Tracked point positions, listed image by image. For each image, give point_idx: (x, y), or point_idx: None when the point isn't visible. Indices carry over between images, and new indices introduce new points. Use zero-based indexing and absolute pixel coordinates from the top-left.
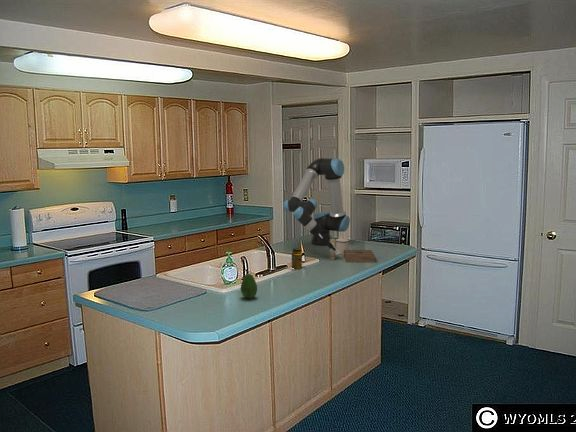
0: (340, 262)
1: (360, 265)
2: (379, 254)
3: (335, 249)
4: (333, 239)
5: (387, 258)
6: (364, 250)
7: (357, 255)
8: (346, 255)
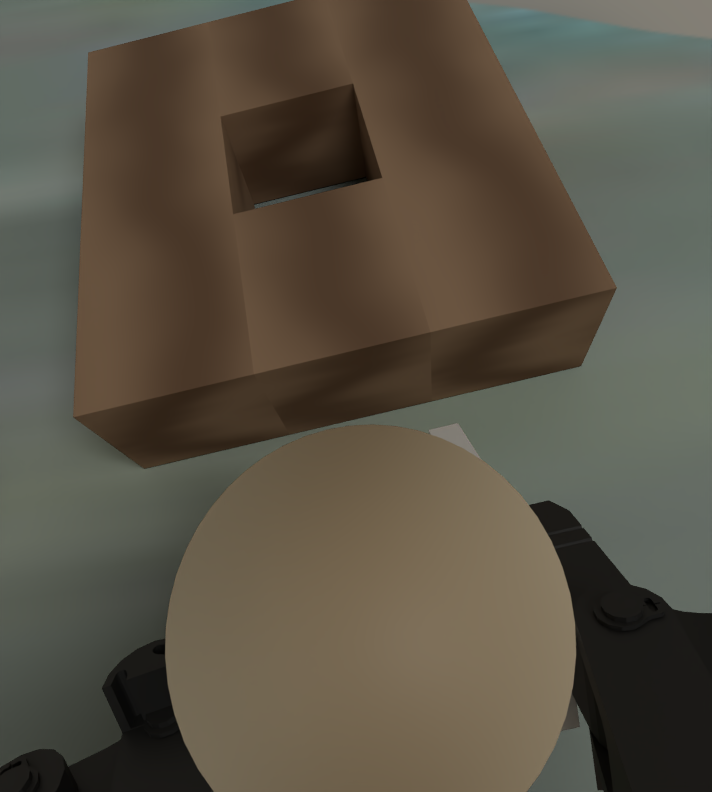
0: (642, 454)
1: (698, 160)
2: (19, 89)
3: (561, 517)
4: (432, 543)
5: (212, 8)
6: (130, 108)
7: (530, 130)
8: (612, 287)
